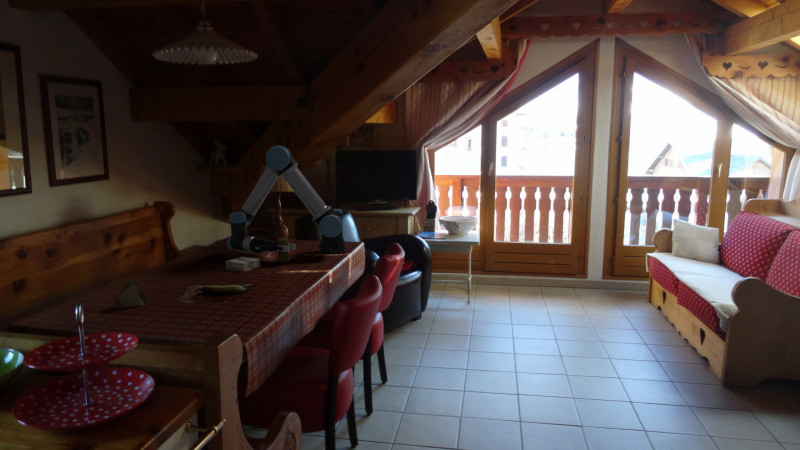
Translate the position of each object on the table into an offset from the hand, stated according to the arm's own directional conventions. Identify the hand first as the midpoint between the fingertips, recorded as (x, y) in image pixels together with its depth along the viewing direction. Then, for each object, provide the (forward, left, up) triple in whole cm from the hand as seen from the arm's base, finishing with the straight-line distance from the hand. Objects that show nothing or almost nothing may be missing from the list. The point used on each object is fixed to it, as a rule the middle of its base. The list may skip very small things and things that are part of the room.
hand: (291, 248), depth 259 cm
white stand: (+15, -17, -8) cm, 24 cm away
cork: (0, -5, -7) cm, 9 cm away
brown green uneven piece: (+51, +7, -9) cm, 52 cm away
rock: (+79, -11, -9) cm, 80 cm away
